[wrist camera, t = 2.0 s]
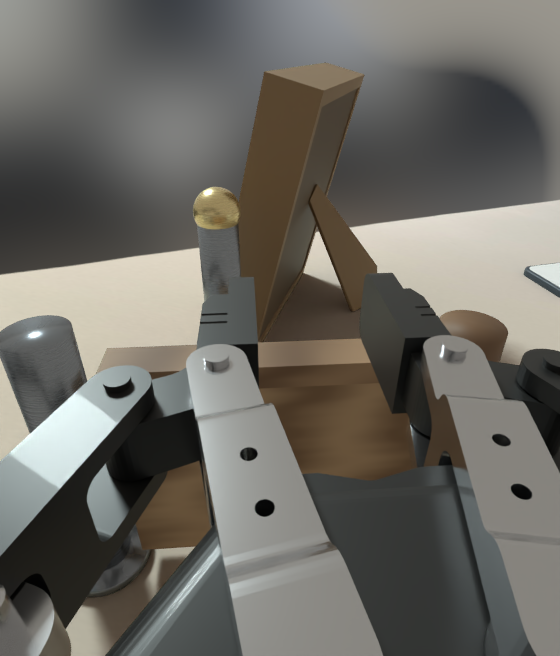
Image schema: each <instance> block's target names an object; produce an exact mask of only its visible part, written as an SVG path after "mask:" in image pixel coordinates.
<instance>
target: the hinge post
mask: <svg viewBox="0 0 560 656" xmlns="http://www.w3.org/2000/svg"><path fill="white" fill-rule="evenodd" d="M0 358H1V361H2V363H3V366H4V368H5V371H6V373H7V376H8V379H9V381H10V384H11V386H12V389H13V391H14V394H15V396H16V399H17V402H18V404H19V407H20V409H21V412H22V414H23V417H24V419H25V422H26V425H27V427H28V430H29V432H30V433H32V432H33V431H34V430H35V429H36V428H37V427H38V426H39V425H40V424H41V423H42V422H44V421H45V420H46V419H47V418H48V417H49V416H50V415H51V414H52V413H53V412H54V411H56V410H57V409H58V408H59V407H60V406H61V405H62V404H63V403H64V402H65V401H66V400H68V399H69V398H70V397H71V396H72V395H73V394H74V393H75V392H76V391H77V390H78V389H80V388H81V387H82V386H83V385H84V384H85V383H86V382H87V378H86V375H85V371H84V368H83V364H82V360H81V357H80V353H79V350H78V346H77V342H76V339H75V335H74V332H73V328H72V324H71V322H70V321H69V320H68V319H66V318H63V317H60V316H52V315H47V316H37V317H31V318H27V319H24V320H21V321H18V322H16V323H14V324H11V325H10V326H8V327H6V328H5V329H3V330H2V331H1V332H0ZM150 550H151V549H149V550H142V546H141V542H140V539H139V535H138V531H137V527H136V524H135V525H134V527H133V528H132V530H131V531H130V533H129V534H128V536H127V537H126V539H125V540H124V542H123V543H122V545H121V546H120V548H119V549H118V551H117V552H116V554H115V555H114V557H113V558H112V560H111V561H110V563H109V564H108V566H107V567H106V569H105V570H104V572H103V573H102V575H101V576H100V578H99V579H98V581H97V582H96V584H95V585H94V587H93V588H92V590H91V591H90V593H89V594H88V596H87V597H100V596H105V595H108V594H111V593H114V592H116V591H118V590H120V589H122V588H123V587H125V586H126V585H128V584H129V583H130V582H132V581H133V580H134V579H135V578H136V577H137V576H138V575H139V573H140V572H141V571H142V569H143V568H144V566H145V564H146V563H147V560H148V558H149V555H150Z"/></svg>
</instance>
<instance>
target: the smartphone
mask: <svg viewBox="0 0 560 656" xmlns="http://www.w3.org/2000/svg"><path fill="white" fill-rule="evenodd" d="M524 275H525V276H526V277H527V278H529V279H531V280H532V281H534V282H535V283H537V284H539V285H540V286H542V287H543V288H545V289H547V290H548V291H550V292H551V293H553V294H555V295H556V296H558V297H559V298H560V263H552V264H544V265H536V266H529V267H526V268H525V271H524Z"/></svg>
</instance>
